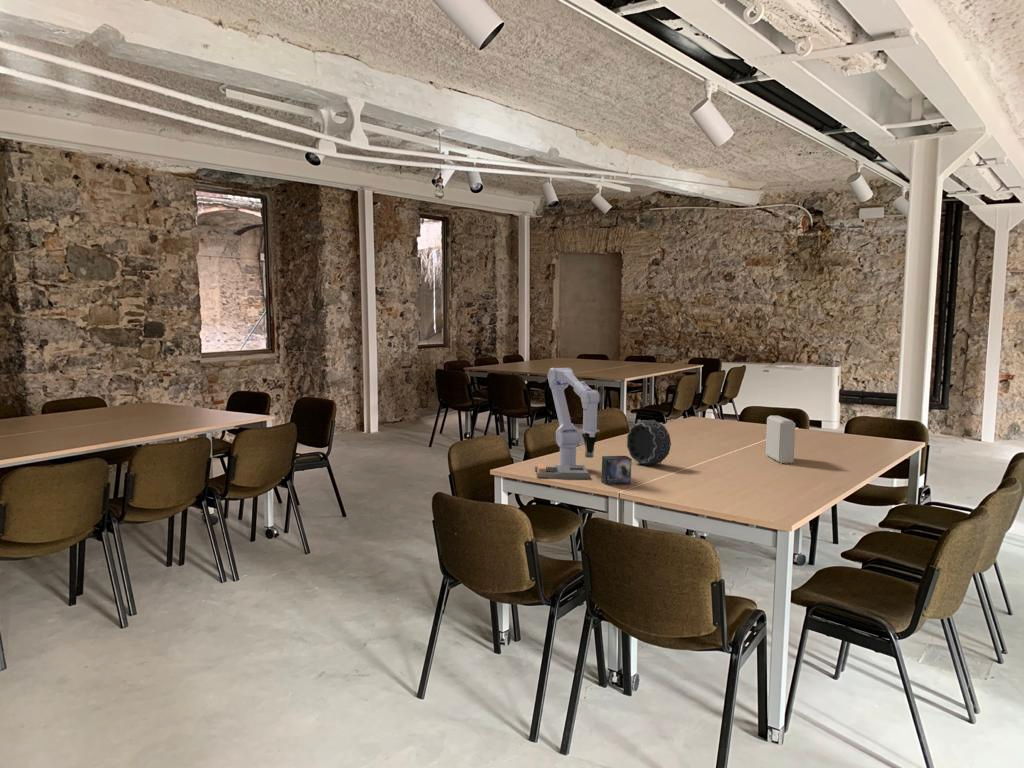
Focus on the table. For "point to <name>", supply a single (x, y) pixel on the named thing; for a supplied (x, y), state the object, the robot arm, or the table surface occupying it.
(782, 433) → the grey upright block
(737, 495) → the table surface
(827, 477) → the table surface
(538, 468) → the latch bar
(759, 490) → the table surface
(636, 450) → the black toy wheel
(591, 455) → the axle peg
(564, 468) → the grey flat plate
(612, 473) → the small box
